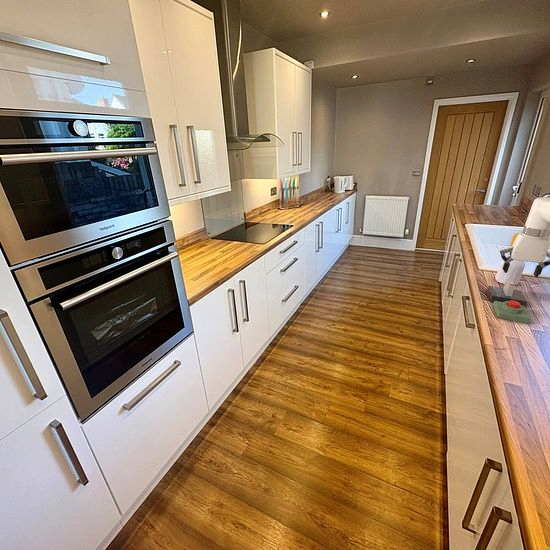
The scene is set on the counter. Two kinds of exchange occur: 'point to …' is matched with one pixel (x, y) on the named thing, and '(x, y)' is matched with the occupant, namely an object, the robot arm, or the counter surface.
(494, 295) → the plate
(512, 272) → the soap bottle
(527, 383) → the counter surface
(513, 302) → the button
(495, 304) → the button box
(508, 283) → the tap handle
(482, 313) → the counter surface
